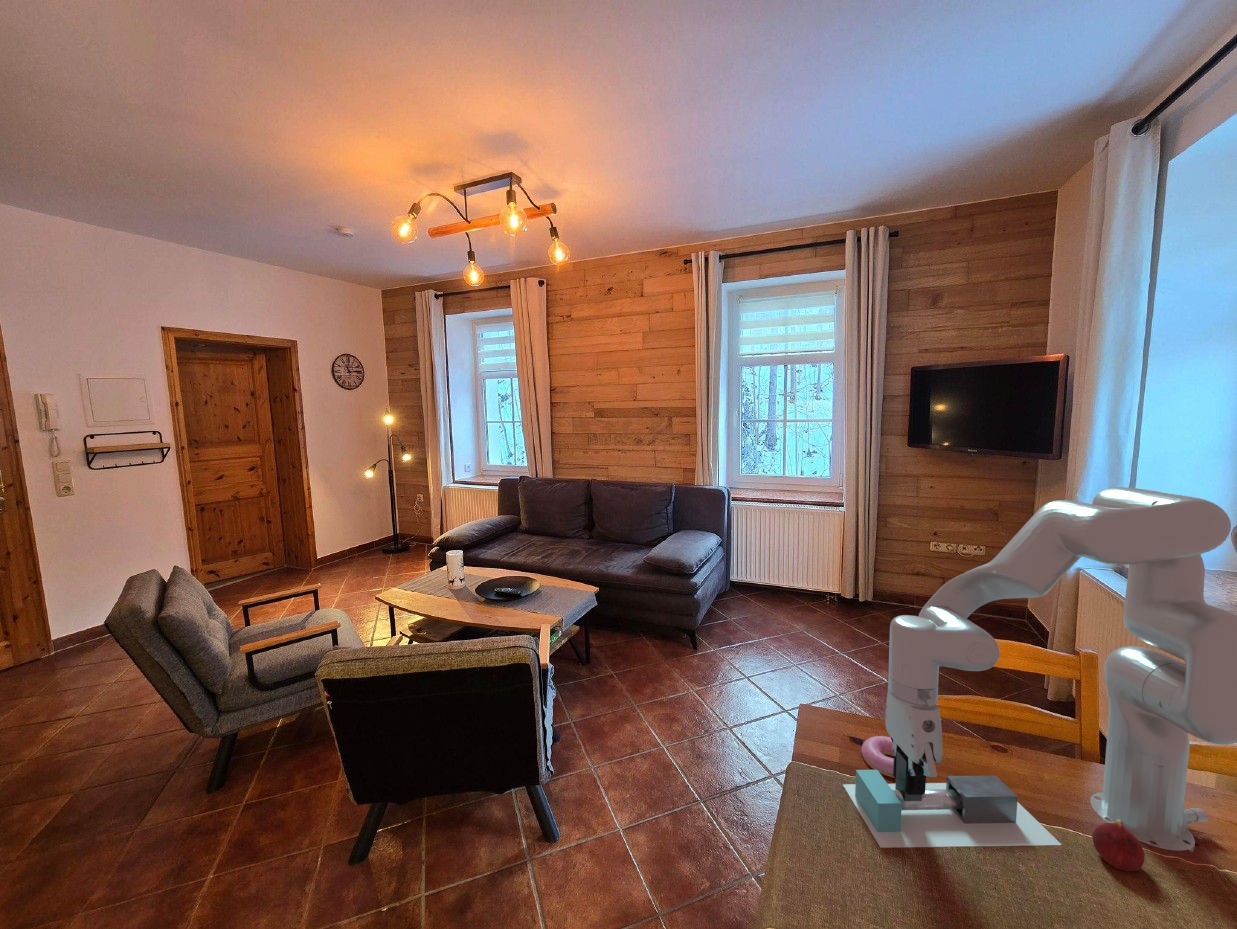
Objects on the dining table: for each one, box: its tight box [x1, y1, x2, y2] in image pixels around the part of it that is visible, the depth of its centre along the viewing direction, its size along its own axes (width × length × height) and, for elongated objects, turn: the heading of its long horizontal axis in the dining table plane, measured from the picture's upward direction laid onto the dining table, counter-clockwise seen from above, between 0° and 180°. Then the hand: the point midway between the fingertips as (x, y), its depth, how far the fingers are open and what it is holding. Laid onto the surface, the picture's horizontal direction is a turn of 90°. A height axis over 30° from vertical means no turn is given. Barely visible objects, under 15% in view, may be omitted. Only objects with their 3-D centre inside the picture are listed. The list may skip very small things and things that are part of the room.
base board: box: [842, 782, 1063, 849], centre depth 88 cm, size 30×14×1 cm, turn 90°
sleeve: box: [945, 775, 1019, 824], centre depth 88 cm, size 9×5×5 cm, turn 90°
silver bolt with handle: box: [892, 750, 963, 810], centre depth 88 cm, size 19×3×10 cm, turn 90°
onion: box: [1091, 819, 1146, 872], centre depth 78 cm, size 6×6×8 cm
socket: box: [855, 769, 902, 832], centre depth 88 cm, size 4×8×5 cm, turn 0°
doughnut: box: [860, 735, 896, 779], centre depth 101 cm, size 11×11×4 cm
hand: (908, 784), depth 88 cm, fingers closed on silver bolt with handle, 3 cm apart
